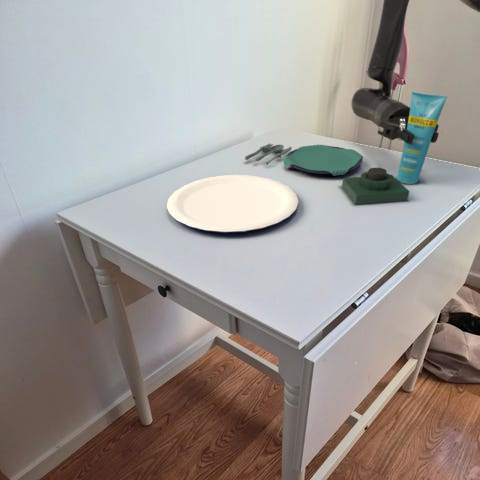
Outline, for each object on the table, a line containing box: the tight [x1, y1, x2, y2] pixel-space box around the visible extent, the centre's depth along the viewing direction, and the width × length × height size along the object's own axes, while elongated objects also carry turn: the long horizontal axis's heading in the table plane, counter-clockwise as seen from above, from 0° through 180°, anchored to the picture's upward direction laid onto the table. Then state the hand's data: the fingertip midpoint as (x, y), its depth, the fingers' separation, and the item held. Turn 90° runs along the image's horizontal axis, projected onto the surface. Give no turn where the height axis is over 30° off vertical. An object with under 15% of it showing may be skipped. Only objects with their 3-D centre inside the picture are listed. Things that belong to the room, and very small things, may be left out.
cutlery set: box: [244, 143, 364, 177], centre depth 114 cm, size 20×30×2 cm, turn 58°
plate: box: [166, 174, 299, 234], centre depth 94 cm, size 29×29×2 cm
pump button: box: [367, 167, 388, 181], centre depth 95 cm, size 4×4×2 cm
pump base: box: [341, 171, 410, 205], centre depth 97 cm, size 12×10×4 cm
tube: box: [396, 91, 448, 185], centre depth 97 cm, size 7×5×19 cm, turn 57°
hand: (423, 138), depth 95 cm, fingers closed on tube, 5 cm apart
